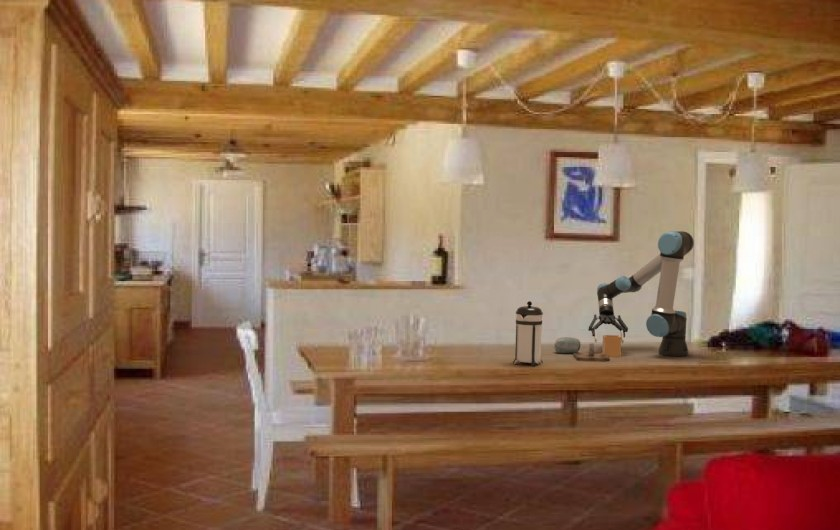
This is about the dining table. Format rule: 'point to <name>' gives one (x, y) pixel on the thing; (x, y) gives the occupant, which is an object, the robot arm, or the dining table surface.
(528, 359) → the coffee press
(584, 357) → the shaft stand
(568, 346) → the grey green rounded lump
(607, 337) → the spacer sleeve
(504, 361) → the dining table surface
